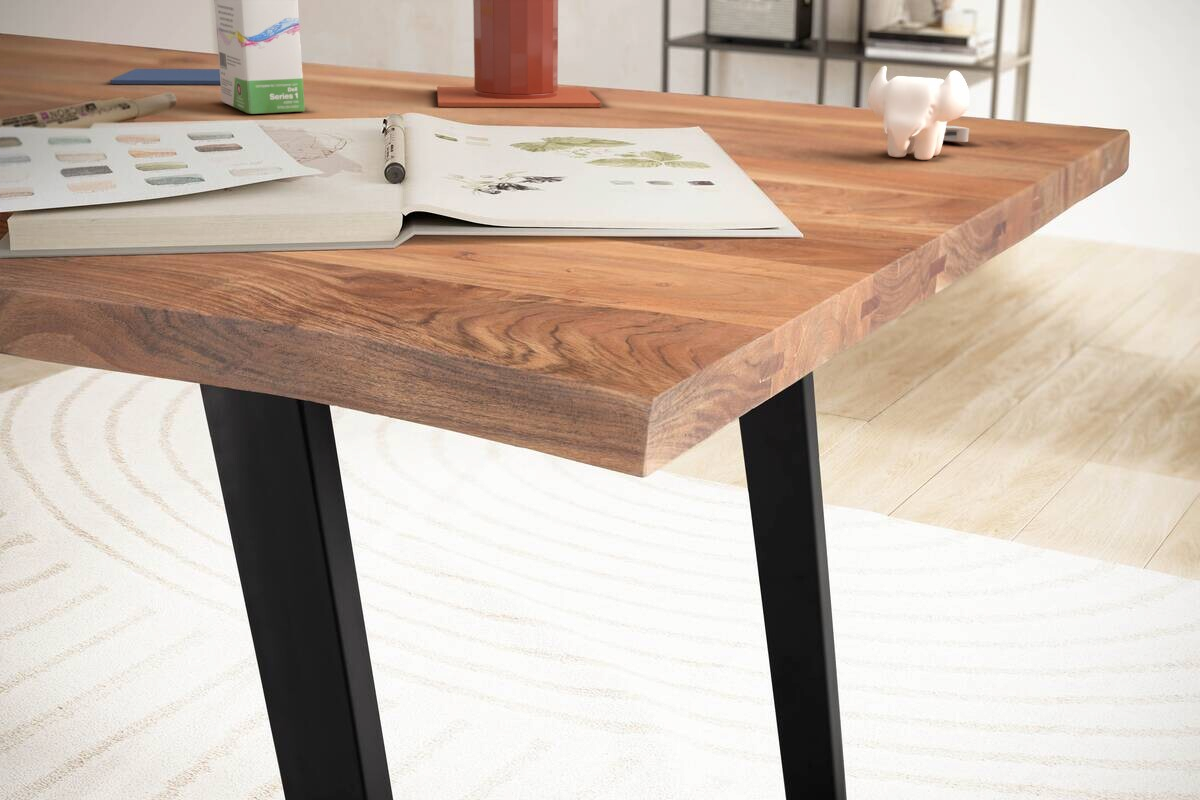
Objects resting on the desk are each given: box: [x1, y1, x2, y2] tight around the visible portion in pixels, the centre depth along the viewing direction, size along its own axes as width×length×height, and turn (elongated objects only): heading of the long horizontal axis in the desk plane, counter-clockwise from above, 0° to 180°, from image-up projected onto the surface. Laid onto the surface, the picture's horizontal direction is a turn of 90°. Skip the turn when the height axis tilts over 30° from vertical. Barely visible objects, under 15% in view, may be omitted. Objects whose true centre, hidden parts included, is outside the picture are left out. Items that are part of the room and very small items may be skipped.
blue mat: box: [110, 68, 221, 86], centre depth 126 cm, size 11×11×1 cm
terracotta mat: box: [436, 86, 602, 108], centre depth 115 cm, size 14×12×1 cm
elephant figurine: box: [867, 65, 970, 161], centre depth 86 cm, size 7×8×6 cm
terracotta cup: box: [472, 0, 559, 99], centre depth 114 cm, size 7×7×9 cm
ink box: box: [213, 0, 306, 115], centre depth 104 cm, size 8×5×12 cm, turn 30°
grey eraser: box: [943, 125, 970, 143], centre depth 95 cm, size 6×2×1 cm, turn 24°
